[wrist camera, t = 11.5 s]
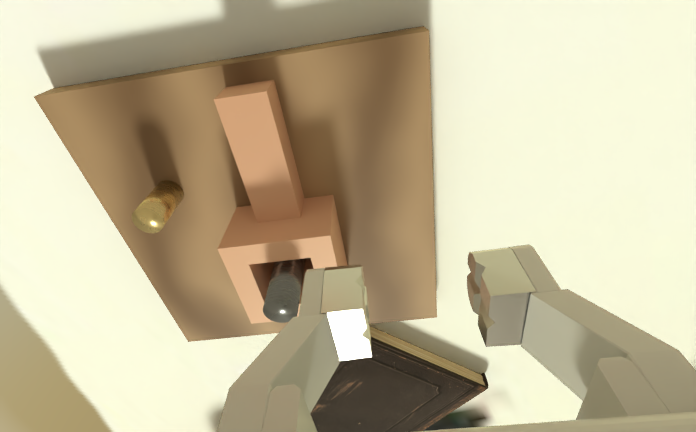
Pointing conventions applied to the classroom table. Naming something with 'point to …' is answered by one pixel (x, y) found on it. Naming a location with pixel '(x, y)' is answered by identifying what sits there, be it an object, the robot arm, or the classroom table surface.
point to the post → (284, 290)
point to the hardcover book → (394, 389)
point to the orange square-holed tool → (270, 199)
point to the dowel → (158, 207)
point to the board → (310, 157)
